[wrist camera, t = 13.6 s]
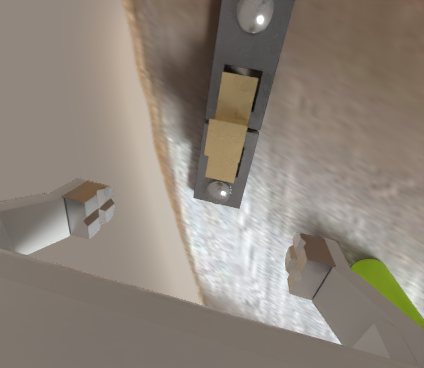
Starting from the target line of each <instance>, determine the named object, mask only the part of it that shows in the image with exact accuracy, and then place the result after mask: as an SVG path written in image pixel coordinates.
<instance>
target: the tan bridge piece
mask: <svg viewBox="0 0 424 368" xmlns="http://www.w3.org/2000/svg"><path fill="white" fill-rule="evenodd" d="M258 79H259V78H254V77H248V76H243V75H238V74H232V73H227V72H223V73H222V79H221V85H220V91H219V97H218V103H217V109H216V114H215V115H213V116H212V117H211V118H210V119H209V126H208V132H207V139H206V145H205V152H204V155H206V156H209V157H208V164H207V170H206V176H205V177H208V178H212V179H217V180H221V181H225V182H230V183H234V180H235V176H236V171H237V167H238V163H239V161H240V157H241V153H242V149H243V144H244V140H245V136H246V132H247V128H248V121H249V117H250V112H251V108H252V104H253V100H254V96H255V91H256V87H257V83H258Z"/></svg>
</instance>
